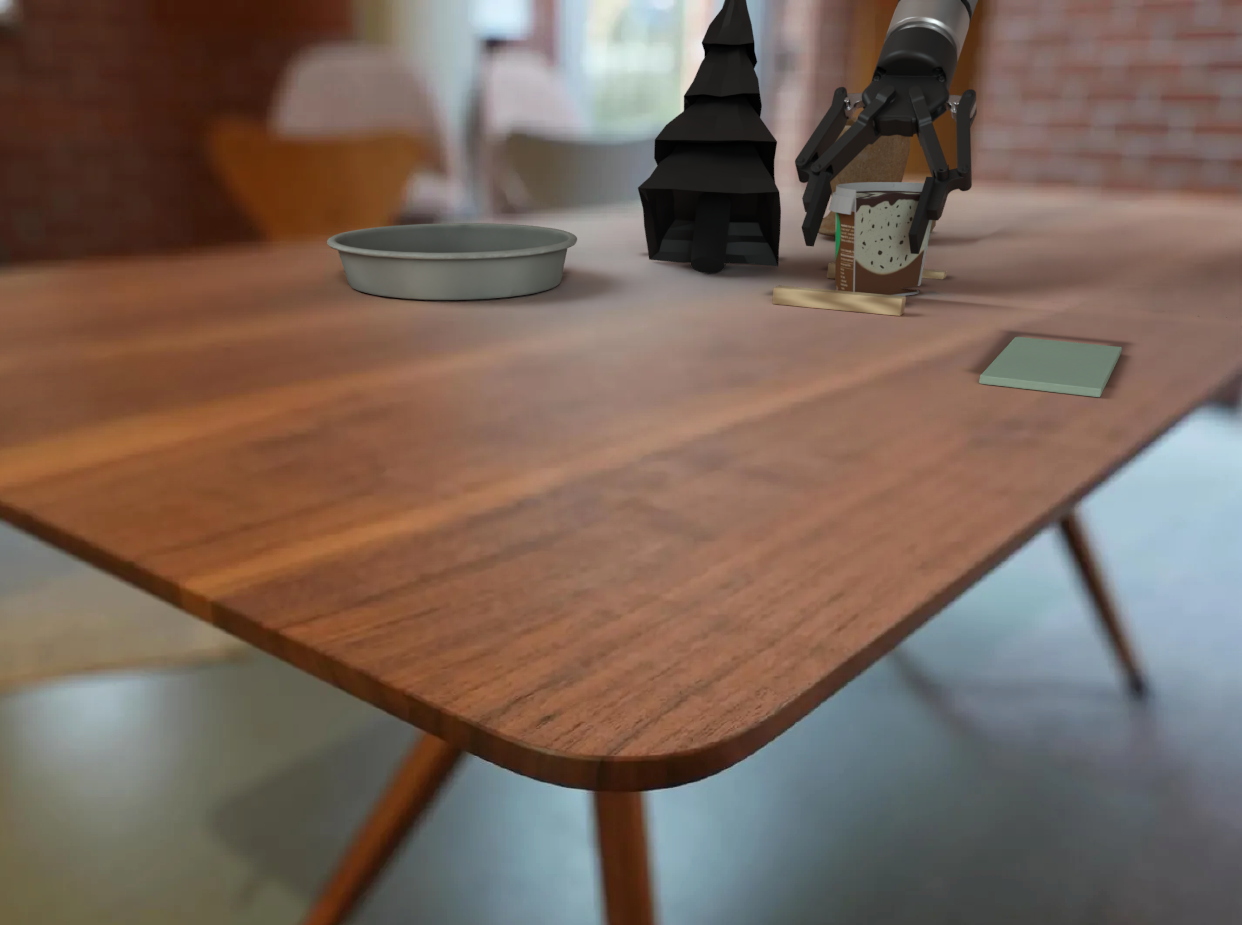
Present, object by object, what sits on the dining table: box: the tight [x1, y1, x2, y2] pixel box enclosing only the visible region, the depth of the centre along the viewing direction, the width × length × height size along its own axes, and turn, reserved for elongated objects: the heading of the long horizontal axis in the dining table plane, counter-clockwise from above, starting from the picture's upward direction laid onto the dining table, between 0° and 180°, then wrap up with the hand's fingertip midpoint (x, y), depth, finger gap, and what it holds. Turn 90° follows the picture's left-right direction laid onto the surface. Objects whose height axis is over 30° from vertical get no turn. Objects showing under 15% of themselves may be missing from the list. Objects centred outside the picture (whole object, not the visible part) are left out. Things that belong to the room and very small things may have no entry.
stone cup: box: [818, 116, 937, 237], centre depth 147 cm, size 15×12×15 cm
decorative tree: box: [637, 0, 782, 274], centre depth 126 cm, size 15×15×35 cm
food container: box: [828, 181, 932, 297], centre depth 112 cm, size 12×6×10 cm, turn 126°
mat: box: [978, 336, 1123, 398], centre depth 86 cm, size 8×15×1 cm, turn 153°
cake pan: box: [326, 222, 578, 301], centre depth 117 cm, size 25×25×4 cm
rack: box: [772, 261, 948, 317], centre depth 114 cm, size 12×19×2 cm, turn 153°
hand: (859, 240), depth 109 cm, fingers open, 9 cm apart
